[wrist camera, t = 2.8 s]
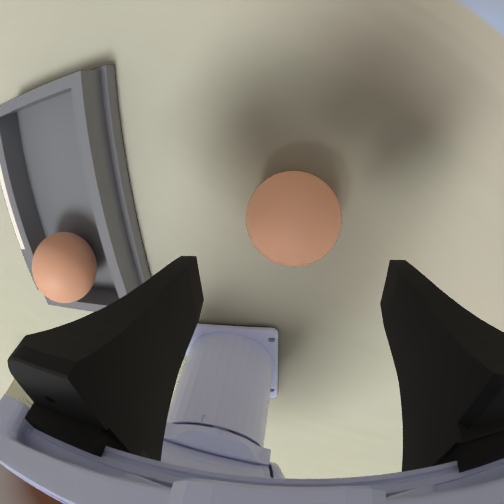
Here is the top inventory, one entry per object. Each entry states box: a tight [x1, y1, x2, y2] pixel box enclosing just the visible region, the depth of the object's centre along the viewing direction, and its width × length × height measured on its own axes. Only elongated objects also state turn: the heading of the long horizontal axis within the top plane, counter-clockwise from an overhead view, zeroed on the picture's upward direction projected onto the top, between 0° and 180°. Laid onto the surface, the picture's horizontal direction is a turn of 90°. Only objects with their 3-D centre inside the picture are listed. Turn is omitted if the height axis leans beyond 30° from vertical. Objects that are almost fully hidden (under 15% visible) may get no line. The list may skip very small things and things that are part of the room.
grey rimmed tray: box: [0, 65, 151, 312], centre depth 19 cm, size 17×13×3 cm
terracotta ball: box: [246, 171, 342, 267], centre depth 16 cm, size 5×5×5 cm
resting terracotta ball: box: [32, 232, 97, 303], centre depth 19 cm, size 5×5×5 cm
